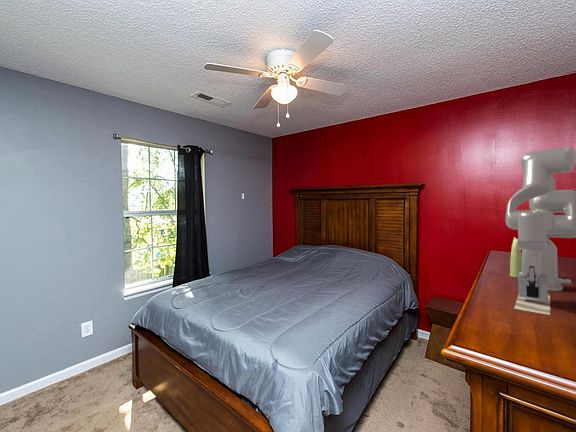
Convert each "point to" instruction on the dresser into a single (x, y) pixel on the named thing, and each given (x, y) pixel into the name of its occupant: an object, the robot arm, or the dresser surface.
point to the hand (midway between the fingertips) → (533, 294)
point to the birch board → (533, 305)
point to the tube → (515, 259)
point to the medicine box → (542, 286)
